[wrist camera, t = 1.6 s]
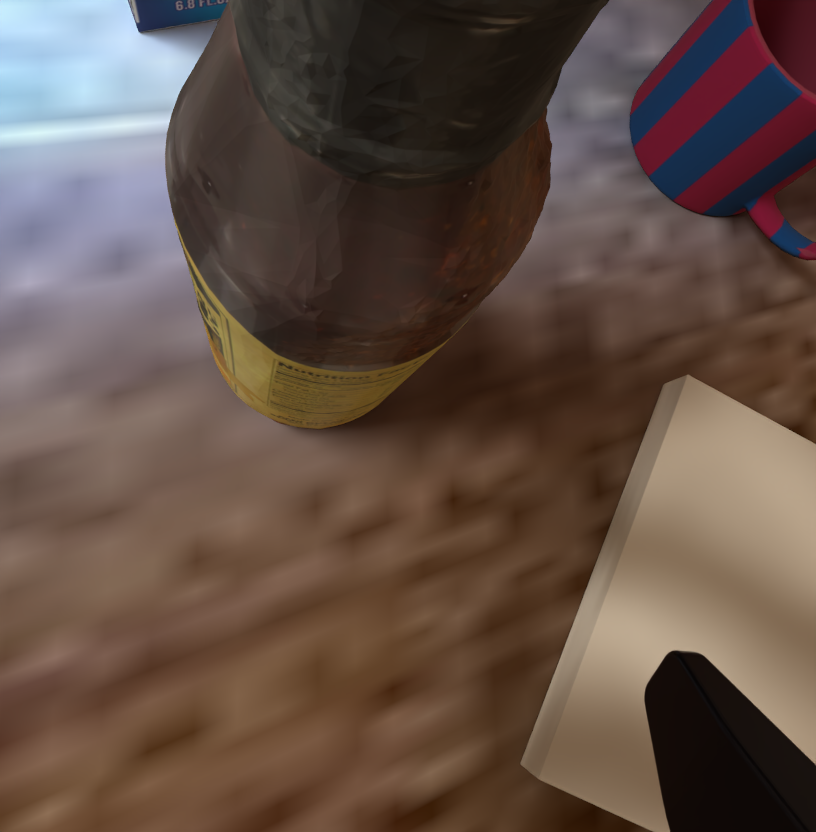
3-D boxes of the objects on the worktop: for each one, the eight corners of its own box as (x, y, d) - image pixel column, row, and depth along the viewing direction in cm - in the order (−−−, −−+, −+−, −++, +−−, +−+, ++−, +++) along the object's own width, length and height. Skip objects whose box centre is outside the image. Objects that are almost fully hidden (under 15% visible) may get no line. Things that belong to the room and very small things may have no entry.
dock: (829, 905, 24) (887, 942, 22) (520, 764, 23) (549, 788, 20) (926, 526, 27) (985, 524, 25) (663, 384, 26) (701, 369, 24)
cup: (750, 58, 30) (891, -80, 23) (821, 284, 28) (991, 206, 22) (609, 69, 28) (717, -76, 22) (677, 308, 27) (814, 232, 20)
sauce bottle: (249, 228, 24) (237, -1051, 5) (423, 293, 25) (1003, -558, 6) (179, 409, 22) (-259, -391, 3) (367, 471, 23) (899, 137, 4)
